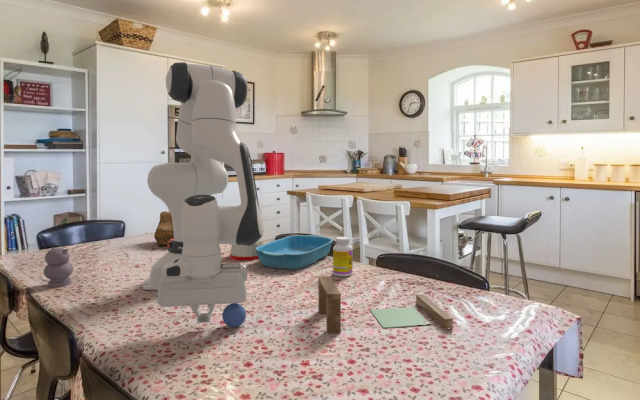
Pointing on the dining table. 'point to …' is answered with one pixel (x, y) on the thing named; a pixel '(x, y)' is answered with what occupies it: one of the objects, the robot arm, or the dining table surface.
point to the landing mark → (398, 317)
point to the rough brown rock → (164, 229)
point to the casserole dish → (294, 251)
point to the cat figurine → (58, 267)
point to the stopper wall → (434, 311)
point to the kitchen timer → (245, 251)
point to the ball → (234, 315)
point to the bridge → (330, 303)
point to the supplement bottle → (342, 257)
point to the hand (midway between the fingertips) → (204, 321)
